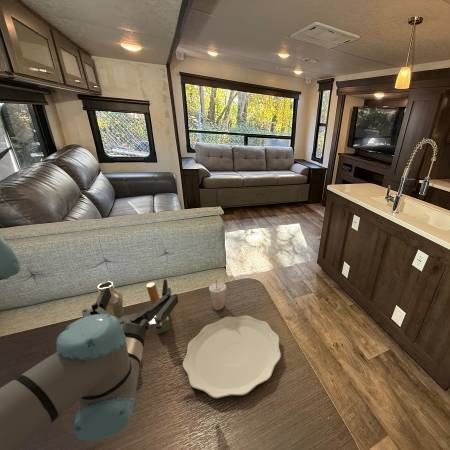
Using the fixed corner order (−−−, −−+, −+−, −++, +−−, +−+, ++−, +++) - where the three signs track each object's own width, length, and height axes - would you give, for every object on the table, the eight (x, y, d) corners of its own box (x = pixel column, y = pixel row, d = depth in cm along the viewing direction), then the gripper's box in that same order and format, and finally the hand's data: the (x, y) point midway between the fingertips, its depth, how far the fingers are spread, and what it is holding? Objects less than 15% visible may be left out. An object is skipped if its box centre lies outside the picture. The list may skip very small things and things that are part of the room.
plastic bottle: (108, 329, 84) (94, 281, 76) (131, 324, 87) (120, 277, 79) (103, 344, 79) (88, 293, 71) (129, 338, 82) (116, 289, 74)
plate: (205, 427, 60) (205, 421, 60) (172, 345, 81) (172, 340, 80) (297, 364, 78) (298, 358, 77) (252, 309, 99) (252, 305, 98)
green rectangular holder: (154, 313, 92) (151, 300, 90) (166, 310, 95) (164, 297, 92) (157, 337, 83) (155, 323, 81) (170, 332, 85) (168, 319, 83)
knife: (157, 317, 91) (145, 279, 84) (164, 314, 92) (154, 276, 85) (159, 332, 85) (147, 293, 78) (167, 329, 86) (156, 290, 79)
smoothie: (206, 308, 97) (204, 278, 92) (218, 299, 103) (217, 270, 97) (218, 314, 95) (217, 284, 89) (230, 305, 100) (229, 276, 95)
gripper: (48, 380, 48) (85, 307, 65) (189, 346, 58) (188, 290, 75) (36, 353, 45) (78, 284, 62) (186, 321, 55) (186, 269, 72)
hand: (138, 287), depth 69 cm, fingers open, 13 cm apart
